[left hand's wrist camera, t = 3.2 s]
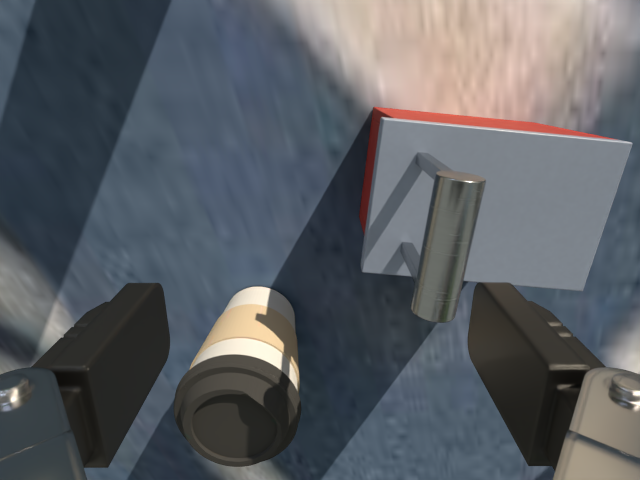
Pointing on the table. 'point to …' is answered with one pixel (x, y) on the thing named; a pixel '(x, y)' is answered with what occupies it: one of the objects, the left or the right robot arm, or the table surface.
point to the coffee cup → (243, 383)
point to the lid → (486, 208)
